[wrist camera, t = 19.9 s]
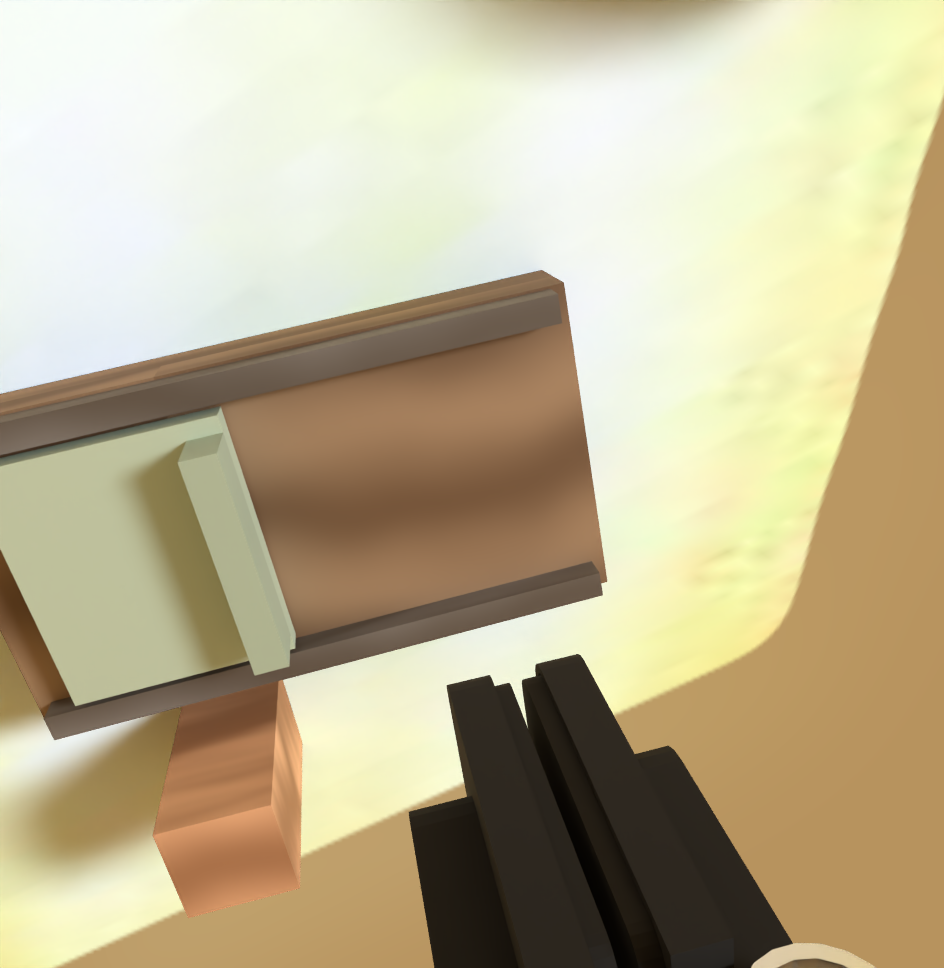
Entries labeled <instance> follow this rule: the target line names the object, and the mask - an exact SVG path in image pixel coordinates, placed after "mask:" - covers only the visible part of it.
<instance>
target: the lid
mask: <svg viewBox="0 0 944 968" xmlns="http://www.w3.org/2000/svg"><path fill="white" fill-rule="evenodd" d="M0 550H1V552H2V554H3V556H4V558H5V560H6V562H7V564H8V566H9V568H10V571H11V573H12V575H13V577H14V579H15V581H16V583H17V585H18V587H19V589H20V591H21V594H22V596H23V598H24V600H25V602H26V604H27V606H28V608H29V610H30V612H31V614H32V617H33V619H34V621H35V623H36V625H37V627H38V629H39V631H40V633H41V635H42V638H43V640H44V642H45V644H46V646H47V648H48V650H49V652H50V654H51V656H52V658H53V661H54V663H55V665H56V667H57V669H58V671H59V673H60V675H61V677H62V679H63V681H64V684H65V686H66V688H67V690H68V692H69V694H70V696H71V698H72V700H73V702H74V704H75V706H78V705H81V704H85V703H89V702H93V701H97V700H101V699H104V698H108V697H112V696H116V695H120V694H123V693H127V692H131V691H135V690H139V689H143V688H146V687H150V686H154V685H158V684H162V683H165V682H169V681H173V680H177V679H181V678H185V677H188V676H192V675H196V674H200V673H204V672H208V671H211V670H215V669H219V668H223V667H227V666H230V665H234V664H238V663H242V662H246V661H250V664H251V667H252V670H253V672H254V675H259V674H263V673H266V672H270V671H274V670H278V669H282V668H285V667H289V664H290V650H292V649H295V640H296V633H295V630H294V627H293V624H292V621H291V618H290V615H289V612H288V609H287V606H286V603H285V600H284V597H283V594H282V591H281V588H280V585H279V582H278V579H277V576H276V573H275V570H274V567H273V564H272V561H271V558H270V555H269V552H268V549H267V546H266V542H265V539H264V536H263V533H262V530H261V527H260V524H259V521H258V518H257V515H256V512H255V509H254V506H253V503H252V500H251V497H250V494H249V491H248V488H247V485H246V482H245V479H244V476H243V473H242V470H241V467H240V464H239V461H238V458H237V455H236V452H235V449H234V446H233V443H232V440H231V436H230V433H229V430H228V427H227V424H226V421H225V418H224V415H223V412H222V409H221V406H219V407H215V408H211V409H207V410H202V411H198V412H194V413H190V414H185V415H181V416H177V417H173V418H168V419H164V420H160V421H156V422H151V423H147V424H143V425H139V426H134V427H130V428H126V429H122V430H117V431H113V432H109V433H105V434H100V435H96V436H92V437H88V438H83V439H79V440H75V441H71V442H66V443H62V444H58V445H54V446H49V447H45V448H41V449H37V450H32V451H28V452H24V453H19V454H15V455H11V456H7V457H2V458H0Z"/></svg>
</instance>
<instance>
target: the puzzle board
mask: <svg viewBox="0 0 944 968" xmlns="http://www.w3.org/2000/svg"><path fill="white" fill-rule="evenodd" d="M219 406H221V409H222V412H223V415H224V418H225V421H226V424H227V427H228V430H229V433H230V436H231V440H232V443H233V446H234V449H235V452H236V455H237V458H238V461H239V464H240V467H241V470H242V473H243V476H244V479H245V482H246V485H247V488H248V491H249V494H250V497H251V500H252V503H253V506H254V509H255V512H256V515H257V518H258V521H259V524H260V527H261V530H262V533H263V536H264V539H265V542H266V546H267V549H268V552H269V555H270V558H271V561H272V564H273V567H274V570H275V573H276V576H277V579H278V582H279V585H280V588H281V591H282V594H283V597H284V600H285V603H286V606H287V609H288V612H289V615H290V618H291V621H292V624H293V627H294V630H295V633H296V640H295V649H292V650H290V664H289V667H285V668H282V669H278V670H274V671H270V672H266V673H263V674H259V675H254V672H253V670H252V667H251V664H250V661H246V662H242V663H238V664H234V665H230V666H227V667H223V668H219V669H215V670H211V671H208V672H204V673H200V674H196V675H192V676H188V677H185V678H181V679H177V680H173V681H169V682H165V683H162V684H158V685H154V686H150V687H146V688H143V689H139V690H135V691H131V692H127V693H123V694H120V695H116V696H112V697H108V698H104V699H101V700H97V701H93V702H89V703H85V704H81V705H78V706H75V704H74V702H73V700H72V698H71V696H70V694H69V692H68V690H67V688H66V686H65V684H64V681H63V679H62V677H61V675H60V673H59V671H58V669H57V667H56V665H55V663H54V661H53V658H52V656H51V654H50V652H49V650H48V648H47V646H46V644H45V642H44V640H43V638H42V635H41V633H40V631H39V629H38V627H37V625H36V623H35V621H34V619H33V617H32V614H31V612H30V610H29V608H28V606H27V604H26V602H25V600H24V598H23V596H22V594H21V591H20V589H19V587H18V585H17V583H16V581H15V579H14V577H13V575H12V573H11V571H10V568H9V566H8V564H7V562H6V560H5V558H4V556H3V554H2V552H1V550H0V631H1V633H2V635H3V637H4V639H5V641H6V643H7V645H8V647H9V649H10V651H11V653H12V655H13V657H14V659H15V661H16V663H17V665H18V667H19V669H20V671H21V673H22V675H23V677H24V679H25V681H26V683H27V685H28V687H29V689H30V691H31V693H32V695H33V697H34V699H35V701H36V703H37V705H38V707H39V709H40V711H41V713H42V715H43V717H44V720H45V722H46V724H47V726H48V728H49V730H50V732H51V734H52V736H53V738H54V740H57V739H61V738H65V737H68V736H72V735H76V734H80V733H84V732H87V731H91V730H95V729H99V728H102V727H106V726H110V725H114V724H118V723H121V722H125V721H129V720H133V719H136V718H140V717H144V716H148V715H152V714H155V713H159V712H163V711H167V710H170V709H174V708H178V707H182V706H186V705H189V704H193V703H197V702H201V701H205V700H208V699H212V698H216V697H220V696H223V695H227V694H231V693H235V692H239V691H242V690H246V689H250V688H254V687H257V686H261V685H265V684H269V683H273V682H276V681H280V680H284V679H288V678H291V677H295V676H299V675H303V674H307V673H310V672H314V671H318V670H322V669H326V668H329V667H333V666H337V665H341V664H344V663H348V662H352V661H356V660H360V659H363V658H367V657H371V656H375V655H378V654H382V653H386V652H390V651H394V650H397V649H401V648H405V647H409V646H412V645H416V644H420V643H424V642H428V641H431V640H435V639H439V638H443V637H447V636H450V635H454V634H458V633H462V632H465V631H469V630H473V629H477V628H481V627H484V626H488V625H492V624H496V623H499V622H503V621H507V620H511V619H515V618H518V617H522V616H526V615H530V614H533V613H537V612H541V611H545V610H549V609H552V608H556V607H560V606H564V605H568V604H571V603H575V602H579V601H583V600H586V599H590V598H594V597H598V596H602V595H603V593H602V586H601V583H604V582H607V576H606V570H605V563H604V556H603V549H602V542H601V535H600V528H599V521H598V515H597V508H596V501H595V494H594V487H593V480H592V473H591V466H590V460H589V453H588V446H587V439H586V432H585V425H584V418H583V411H582V405H581V398H580V391H579V384H578V377H577V370H576V363H575V356H574V350H573V343H572V336H571V329H570V322H569V315H568V308H567V301H566V295H565V288H564V283H563V282H562V281H560V280H558V279H556V278H555V277H553V276H551V275H549V274H548V273H546V272H544V271H543V270H540V271H536V272H532V273H527V274H523V275H519V276H514V277H510V278H505V279H501V280H497V281H492V282H488V283H484V284H479V285H475V286H470V287H466V288H462V289H457V290H453V291H449V292H444V293H440V294H435V295H431V296H427V297H422V298H418V299H414V300H409V301H405V302H400V303H396V304H392V305H387V306H383V307H379V308H374V309H370V310H366V311H361V312H357V313H352V314H348V315H344V316H339V317H335V318H331V319H326V320H322V321H317V322H313V323H309V324H304V325H300V326H296V327H291V328H287V329H282V330H278V331H274V332H269V333H265V334H261V335H256V336H252V337H247V338H243V339H239V340H234V341H230V342H226V343H221V344H217V345H213V346H208V347H204V348H199V349H195V350H191V351H186V352H182V353H178V354H173V355H169V356H164V357H160V358H156V359H151V360H147V361H143V362H138V363H134V364H129V365H125V366H121V367H116V368H112V369H108V370H103V371H99V372H94V373H90V374H86V375H81V376H77V377H73V378H68V379H64V380H60V381H55V382H51V383H46V384H42V385H38V386H33V387H29V388H25V389H20V390H16V391H11V392H7V393H3V394H0V458H2V457H7V456H11V455H15V454H19V453H24V452H28V451H32V450H37V449H41V448H45V447H49V446H54V445H58V444H62V443H66V442H71V441H75V440H79V439H83V438H88V437H92V436H96V435H100V434H105V433H109V432H113V431H117V430H122V429H126V428H130V427H134V426H139V425H143V424H147V423H151V422H156V421H160V420H164V419H168V418H173V417H177V416H181V415H185V414H190V413H194V412H198V411H202V410H207V409H211V408H215V407H219Z"/></svg>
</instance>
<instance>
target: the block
mask: <svg viewBox="0 0 944 968" xmlns="http://www.w3.org/2000/svg"><path fill="white" fill-rule="evenodd" d="M301 795H302V740H301V737H300V734H299V730H298V727H297V724H296V721H295V718H294V715H293V711H292V708H291V705H290V702H289V699H288V696H287V692H286V689H285V686H284V683H283V680H280V681H276V682H273V683H269V684H265V685H261V686H257V687H254V688H250V689H246V690H242V691H239V692H235V693H231V694H227V695H223V696H220V697H216V698H212V699H208V700H205V701H201V702H197V703H193V704H189V705H186V706H182V709H181V713H180V718H179V722H178V726H177V731H176V735H175V740H174V744H173V748H172V753H171V757H170V761H169V766H168V770H167V775H166V779H165V783H164V788H163V792H162V796H161V801H160V805H159V810H158V814H157V818H156V823H155V827H154V832H153V837H154V840H155V842H156V844H157V847H158V849H159V851H160V854H161V856H162V858H163V860H164V863H165V865H166V867H167V870H168V872H169V874H170V877H171V879H172V881H173V884H174V886H175V888H176V891H177V893H178V895H179V898H180V900H181V902H182V904H183V907H184V909H185V911H186V914H187V916H188V918H190V917H194V916H198V915H201V914H205V913H209V912H213V911H216V910H220V909H224V908H228V907H231V906H235V905H239V904H243V903H246V902H250V901H253V900H258V899H261V898H265V897H269V896H273V895H276V894H280V893H284V892H288V891H291V890H295V889H299V888H300V857H301Z"/></svg>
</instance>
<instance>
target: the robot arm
mask: <svg viewBox="0 0 944 968" xmlns="http://www.w3.org/2000/svg"><path fill="white" fill-rule="evenodd" d="M535 672H536V677H532V678H527V679H523V680H522V689H523V696H524V703H525V711H526V718H527V725H528V728H527V725H526V723H525V720H524V718H523V715H522V712H521V710H520V707H519V705H518V702H517V700H516V697H515V694H514V692H513V689H512V687H511V685H510V683H507V684H502V685H498V686H494V683H493V681H492V678H491V676H490V675H488V676H484V677H480V678H475V679H471V680H467V681H463V682H459V683H454V684H450V685H447V692H448V697H449V703H450V708H451V713H452V719H453V724H454V729H455V735H456V740H457V746H458V751H459V756H460V762H461V767H462V772H463V778H464V783H465V788H466V793H467V797H465V798H461V799H457V800H454V801H450V802H446V803H442V804H438V805H434V806H430V807H426V808H422V809H418V810H414V811H410V812H409V818H410V825H411V831H412V837H413V843H414V848H415V855H416V860H417V866H418V872H419V878H420V884H421V890H422V896H423V902H424V908H425V913H426V920H427V926H428V932H429V937H430V944H431V950H432V955H433V962H434V968H875V967H874V966H873V965H871V964H869V963H868V962H866V961H864V960H862V959H860V958H859V957H857V956H855V955H853V954H851V953H850V952H848V951H844V950H841V949H837V948H834V947H830V946H827V945H823V944H807V943H794V944H793V943H792V941H791V939H790V938H789V936H788V934H787V933H786V931H785V930H784V928H783V927H782V925H781V923H780V921H779V920H778V918H777V916H776V915H775V913H774V911H773V910H772V908H771V906H770V905H769V903H768V902H767V900H766V898H765V897H764V895H763V893H762V892H761V890H760V889H759V887H758V885H757V883H756V882H755V880H754V879H753V877H752V875H751V874H750V872H749V870H748V869H747V867H746V866H745V864H744V862H743V861H742V859H741V857H740V856H739V854H738V852H737V851H736V849H735V847H734V846H733V844H732V843H731V841H730V839H729V838H728V836H727V834H726V833H725V831H724V829H723V828H722V826H721V824H720V823H719V821H718V819H717V818H716V816H715V814H714V813H713V811H712V810H711V808H710V806H709V805H708V803H707V801H706V800H705V798H704V797H703V795H702V793H701V792H700V790H699V788H698V786H697V785H696V783H695V782H694V780H693V778H692V777H691V775H690V773H689V772H688V770H687V769H686V767H685V765H684V763H683V762H682V760H681V759H680V757H679V756H678V755H677V753H676V752H675V751H674V750H673V749H672V748H671V747H669V746H666V747H662V748H658V749H654V750H650V751H646V752H642V753H638V754H634V752H633V750H632V749H631V747H630V745H629V743H628V741H627V739H626V737H625V736H624V734H623V732H622V730H621V728H620V726H619V724H618V723H617V721H616V719H615V717H614V715H613V713H612V711H611V710H610V708H609V706H608V704H607V702H606V700H605V698H604V697H603V695H602V693H601V691H600V689H599V687H598V686H597V684H596V682H595V680H594V678H593V676H592V674H591V673H590V671H589V669H588V667H587V665H586V663H585V661H584V660H583V658H582V657H581V655H579V654H576V655H572V656H568V657H564V658H560V659H555V660H551V661H547V662H543V663H539V664H536V667H535Z"/></svg>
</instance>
